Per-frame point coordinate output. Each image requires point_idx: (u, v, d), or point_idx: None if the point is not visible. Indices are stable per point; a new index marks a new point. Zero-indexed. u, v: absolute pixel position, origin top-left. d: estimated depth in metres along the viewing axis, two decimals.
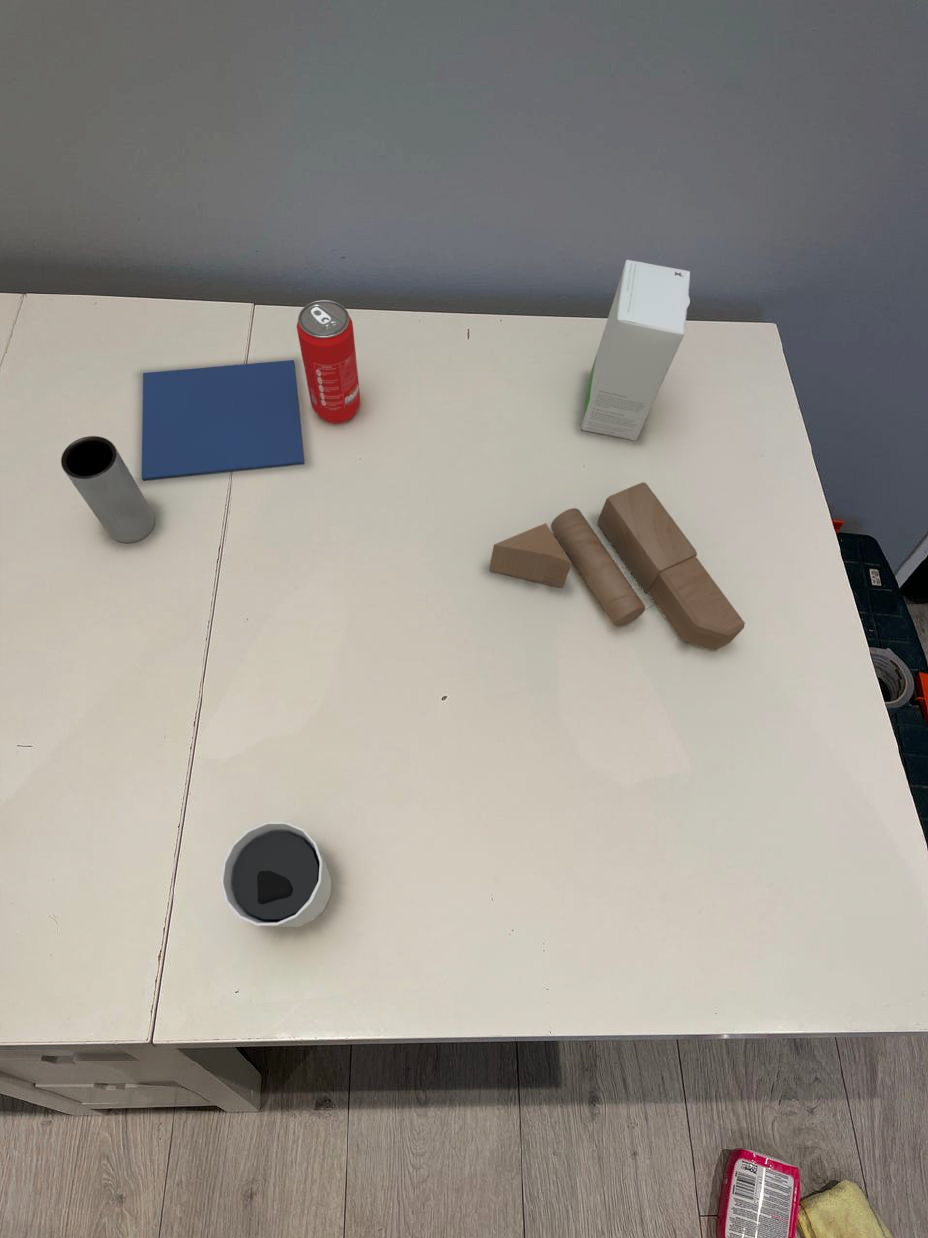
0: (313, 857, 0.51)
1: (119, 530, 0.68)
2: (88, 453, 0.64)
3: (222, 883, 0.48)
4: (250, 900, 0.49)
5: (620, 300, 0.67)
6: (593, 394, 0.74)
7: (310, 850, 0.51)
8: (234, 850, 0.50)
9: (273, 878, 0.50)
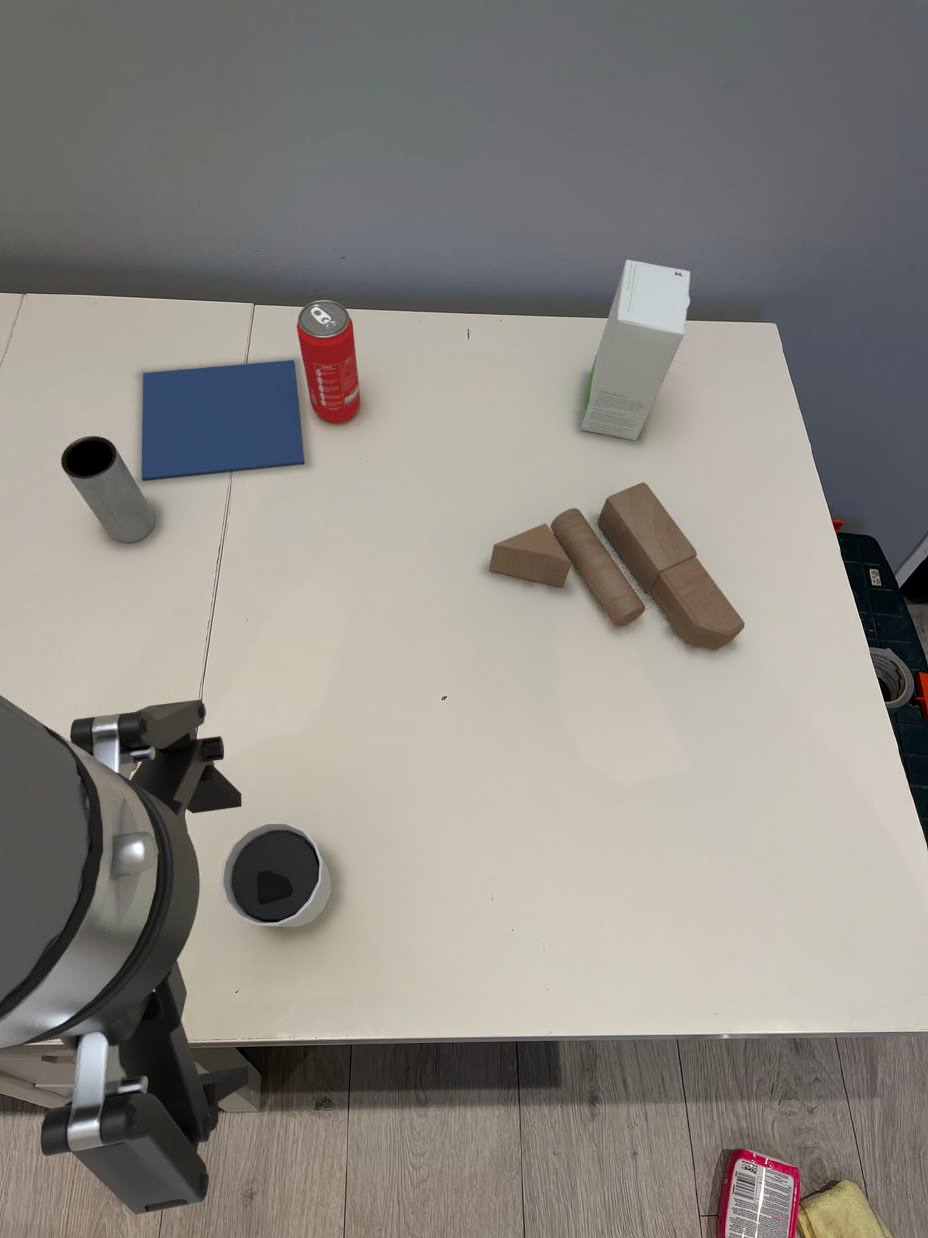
0: (313, 857, 0.51)
1: (119, 530, 0.68)
2: (88, 453, 0.64)
3: (222, 883, 0.48)
4: (250, 900, 0.49)
5: (620, 300, 0.67)
6: (593, 394, 0.74)
7: (310, 850, 0.51)
8: (234, 850, 0.50)
9: (273, 878, 0.50)
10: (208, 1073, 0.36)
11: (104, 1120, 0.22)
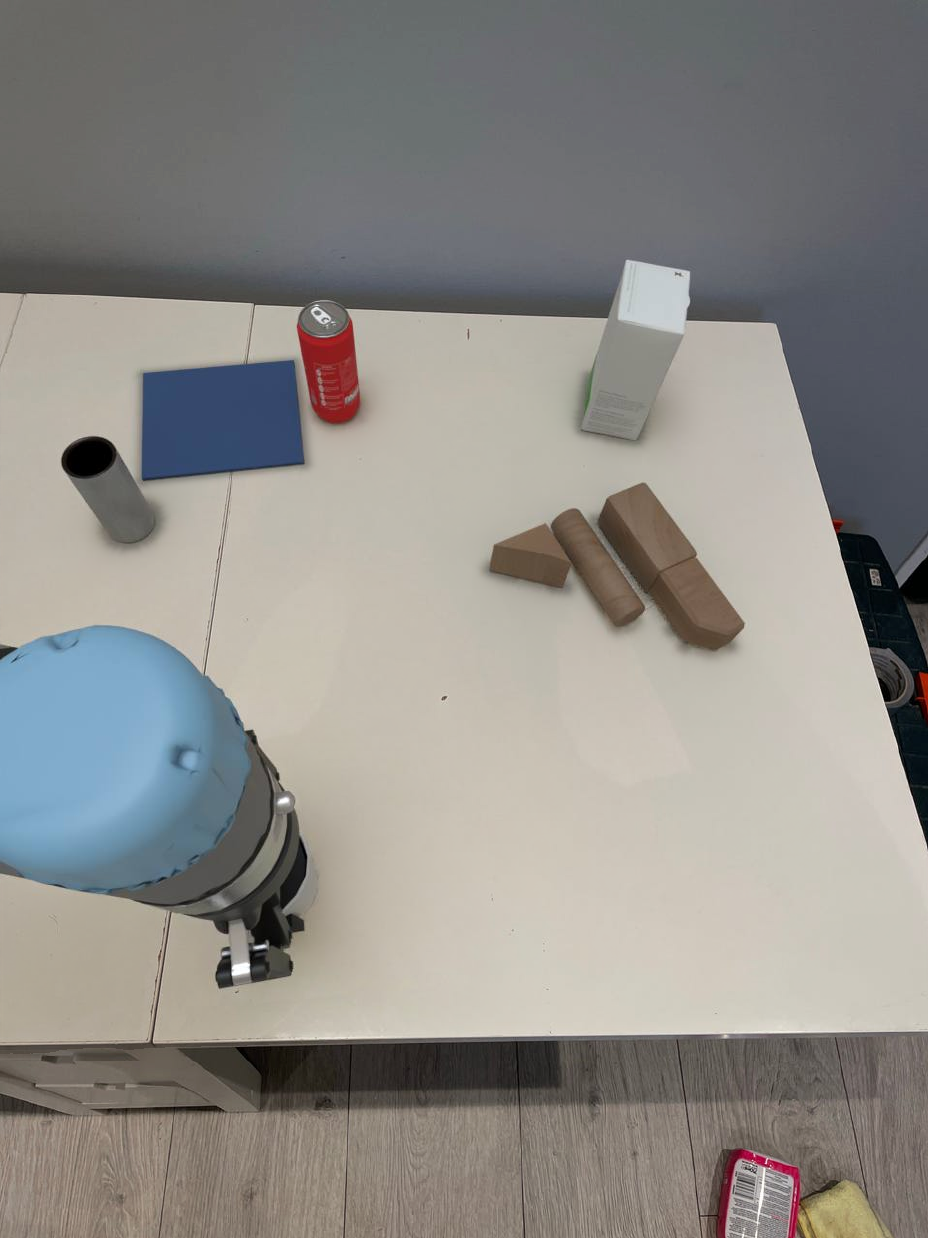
0: (300, 850, 0.48)
1: (119, 530, 0.68)
2: (88, 453, 0.64)
3: None
4: None
5: (620, 300, 0.67)
6: (593, 394, 0.74)
7: None
8: None
9: None
10: None
11: (252, 972, 0.37)
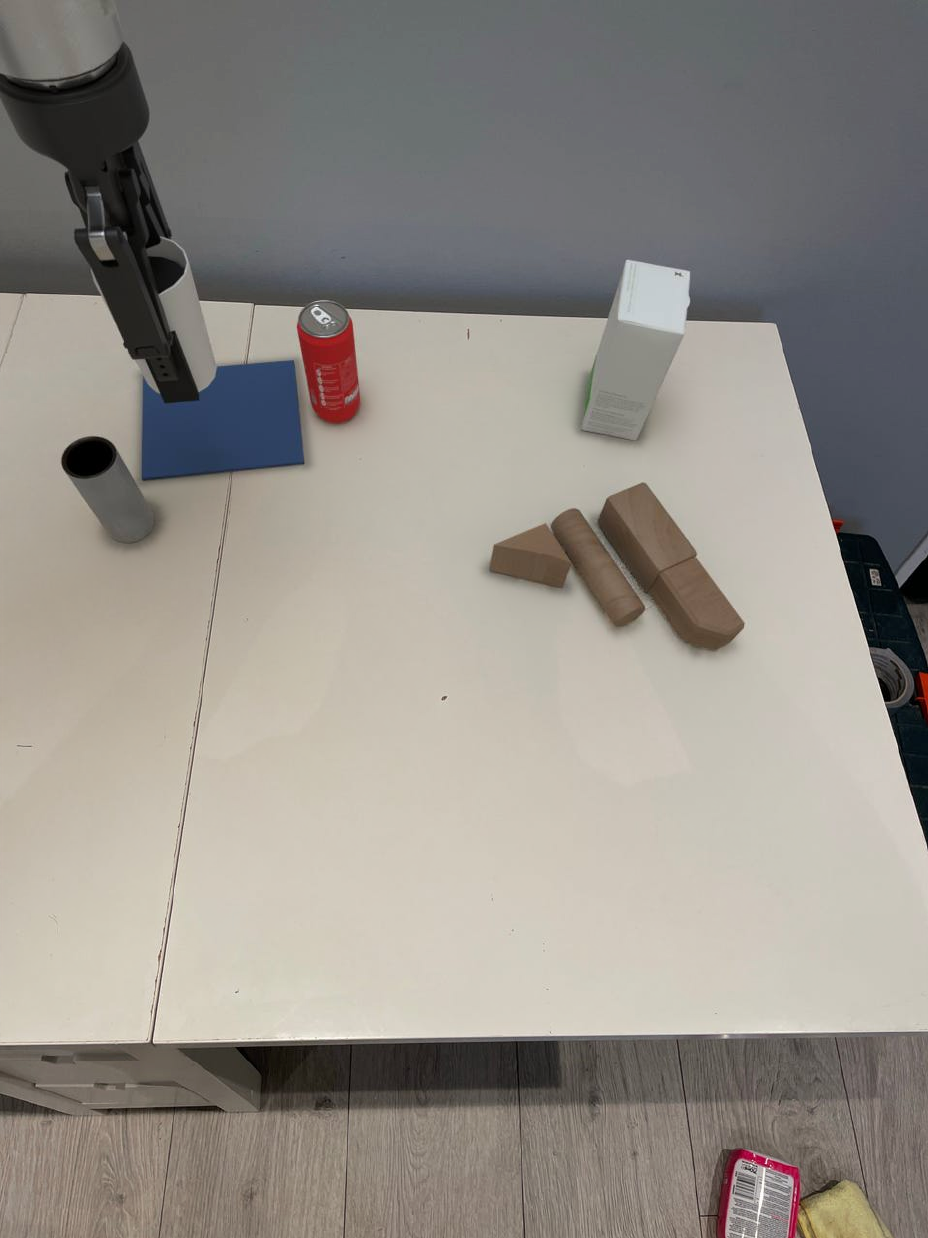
0: (184, 274, 0.54)
1: (119, 530, 0.68)
2: (88, 453, 0.64)
3: None
4: None
5: (620, 300, 0.67)
6: (593, 394, 0.74)
7: (182, 269, 0.54)
8: None
9: None
10: None
11: (106, 231, 0.43)
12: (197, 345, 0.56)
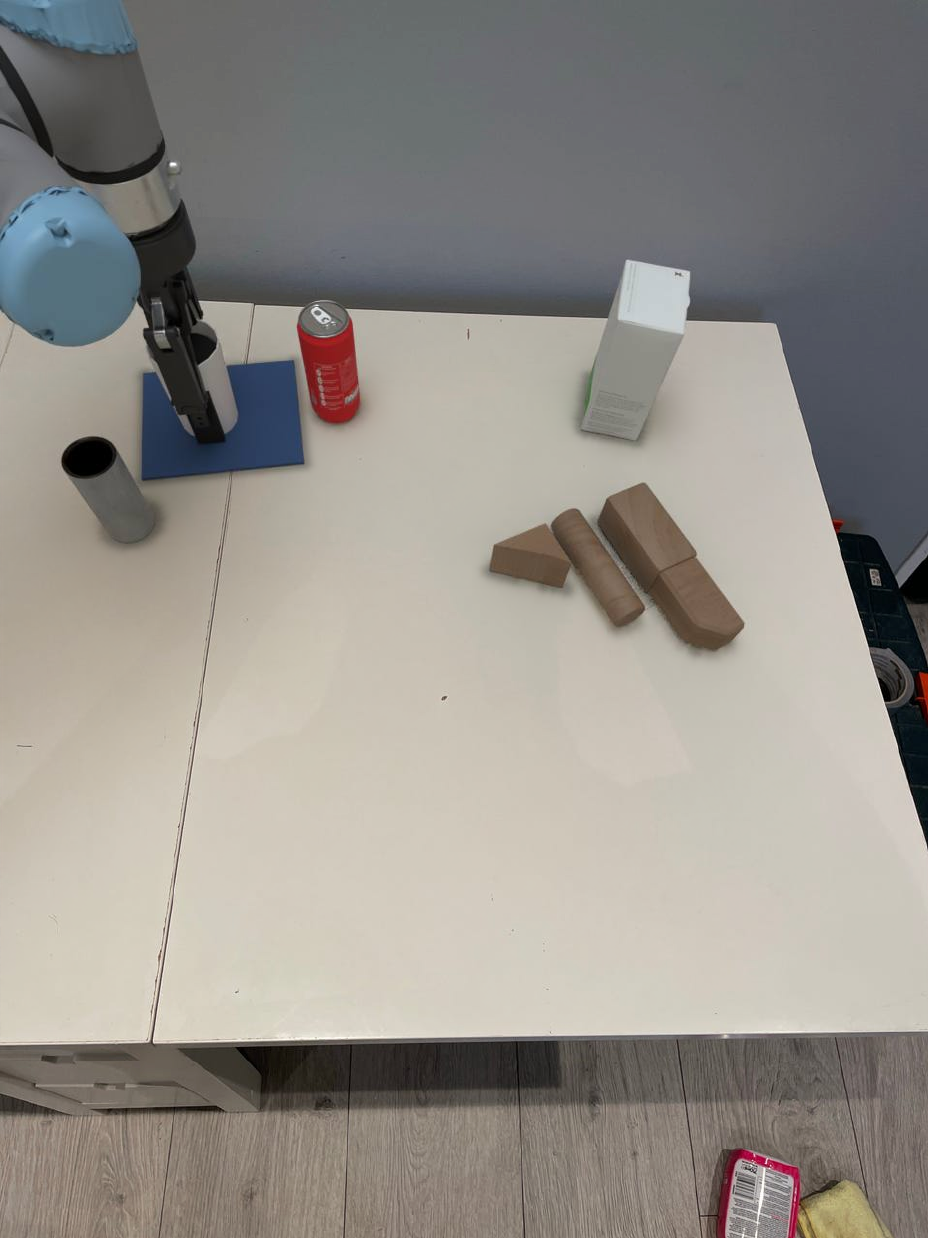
0: (215, 346, 0.70)
1: (119, 530, 0.68)
2: (88, 453, 0.64)
3: (146, 347, 0.68)
4: None
5: (620, 300, 0.67)
6: (593, 394, 0.74)
7: (213, 343, 0.70)
8: None
9: None
10: None
11: (166, 329, 0.59)
12: (224, 399, 0.73)
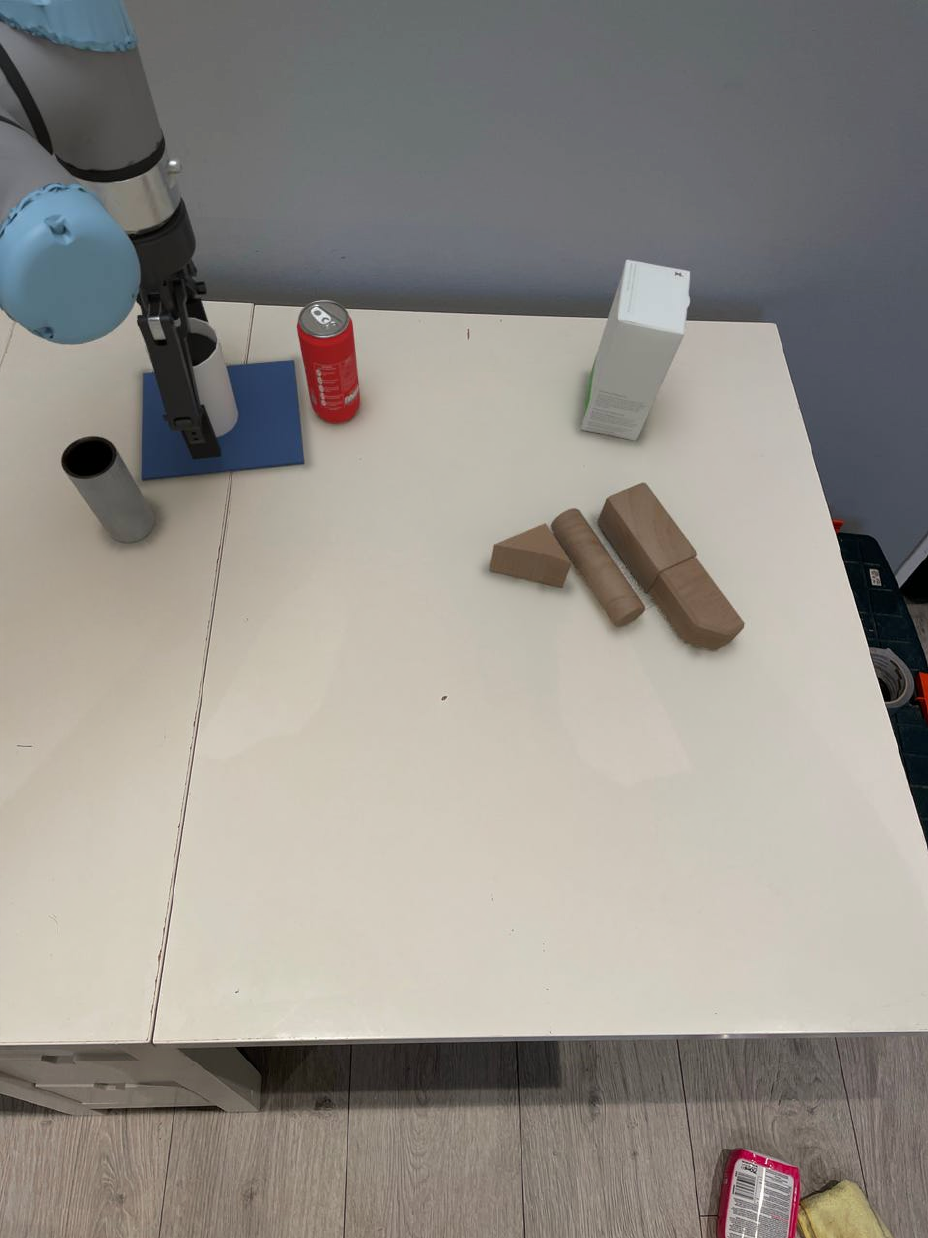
0: (215, 346, 0.70)
1: (119, 530, 0.68)
2: (88, 453, 0.64)
3: (146, 347, 0.68)
4: None
5: (620, 300, 0.67)
6: (593, 394, 0.74)
7: (213, 343, 0.70)
8: None
9: None
10: None
11: (161, 314, 0.58)
12: (224, 399, 0.73)
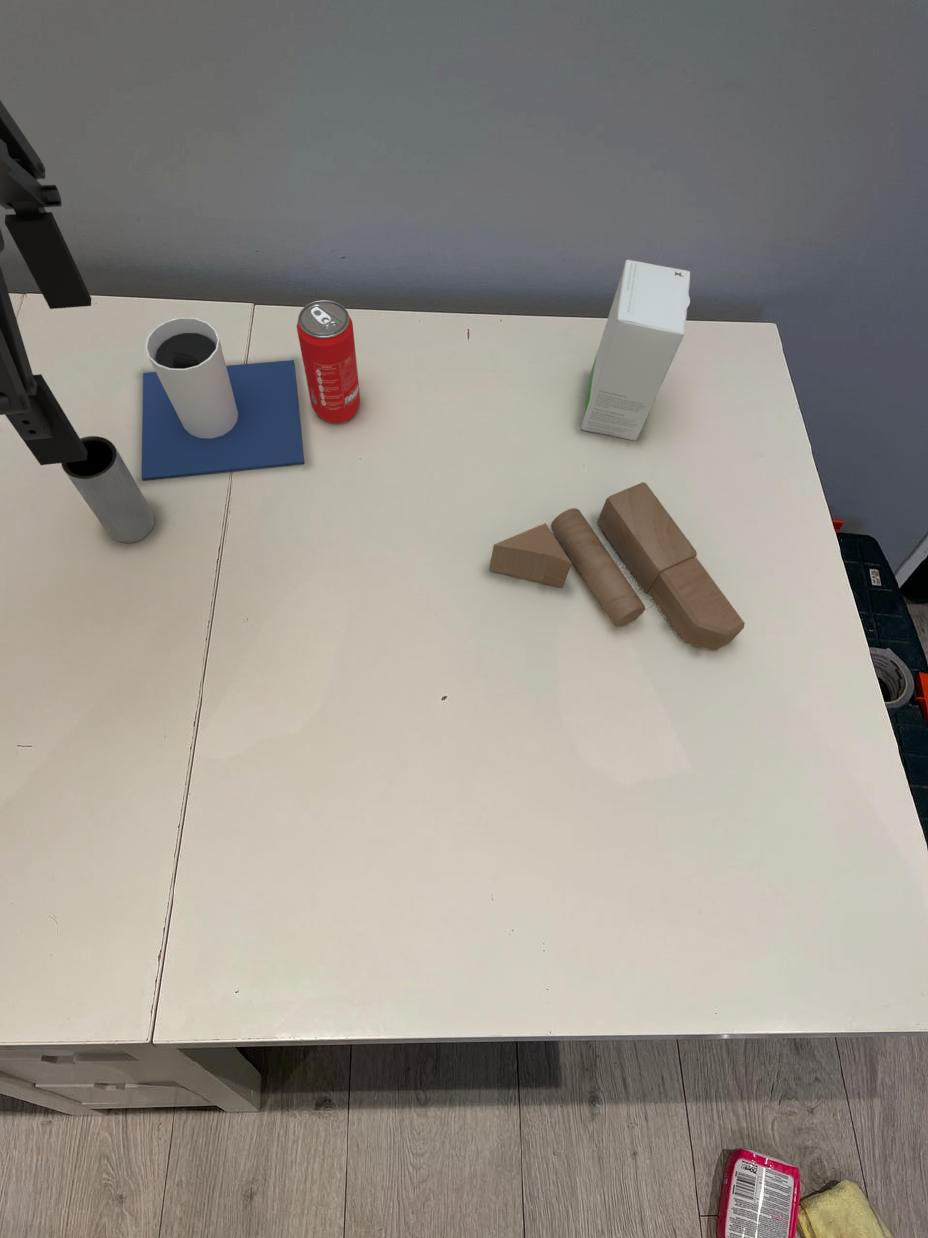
0: (215, 346, 0.70)
1: (119, 530, 0.68)
2: (88, 453, 0.64)
3: (146, 347, 0.68)
4: (167, 367, 0.68)
5: (620, 300, 0.67)
6: (593, 394, 0.74)
7: (213, 343, 0.70)
8: (156, 334, 0.69)
9: (184, 355, 0.69)
10: None
11: None
12: (224, 399, 0.73)
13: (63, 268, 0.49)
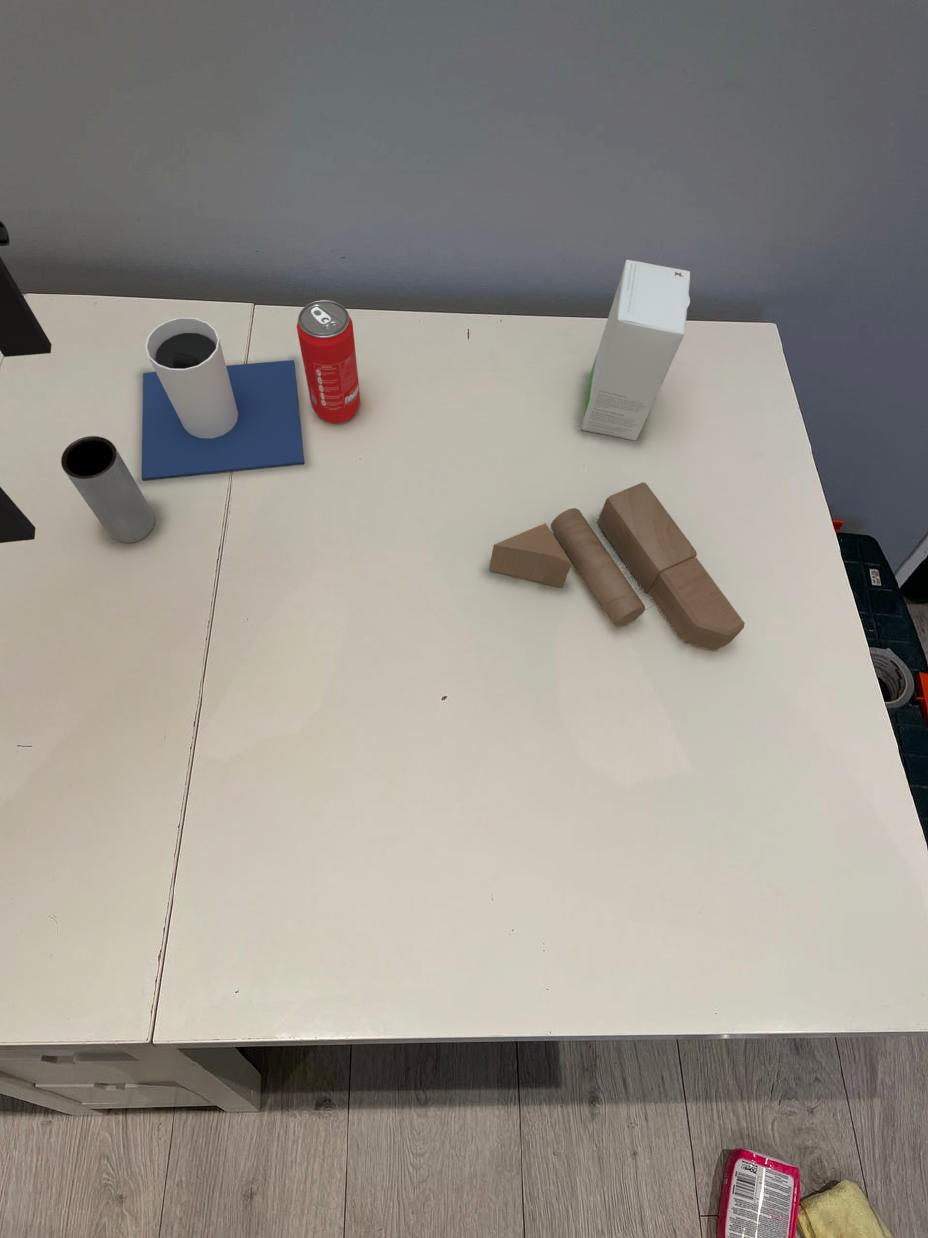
0: (215, 346, 0.70)
1: (119, 530, 0.68)
2: (88, 453, 0.64)
3: (146, 347, 0.68)
4: (167, 367, 0.68)
5: (620, 300, 0.67)
6: (593, 394, 0.74)
7: (213, 343, 0.70)
8: (156, 334, 0.69)
9: (184, 355, 0.69)
10: None
11: None
12: (224, 399, 0.73)
13: (15, 313, 0.43)
